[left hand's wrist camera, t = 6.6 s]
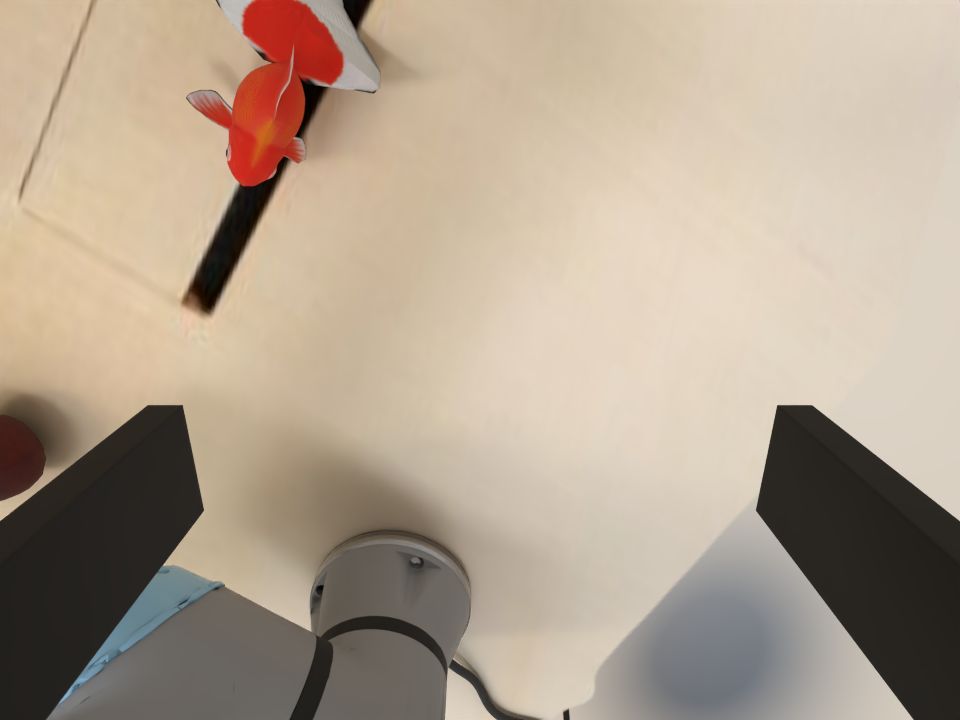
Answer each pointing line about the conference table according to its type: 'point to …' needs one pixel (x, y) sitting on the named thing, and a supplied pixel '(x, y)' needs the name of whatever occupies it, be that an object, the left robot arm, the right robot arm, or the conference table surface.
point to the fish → (284, 78)
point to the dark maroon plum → (18, 457)
